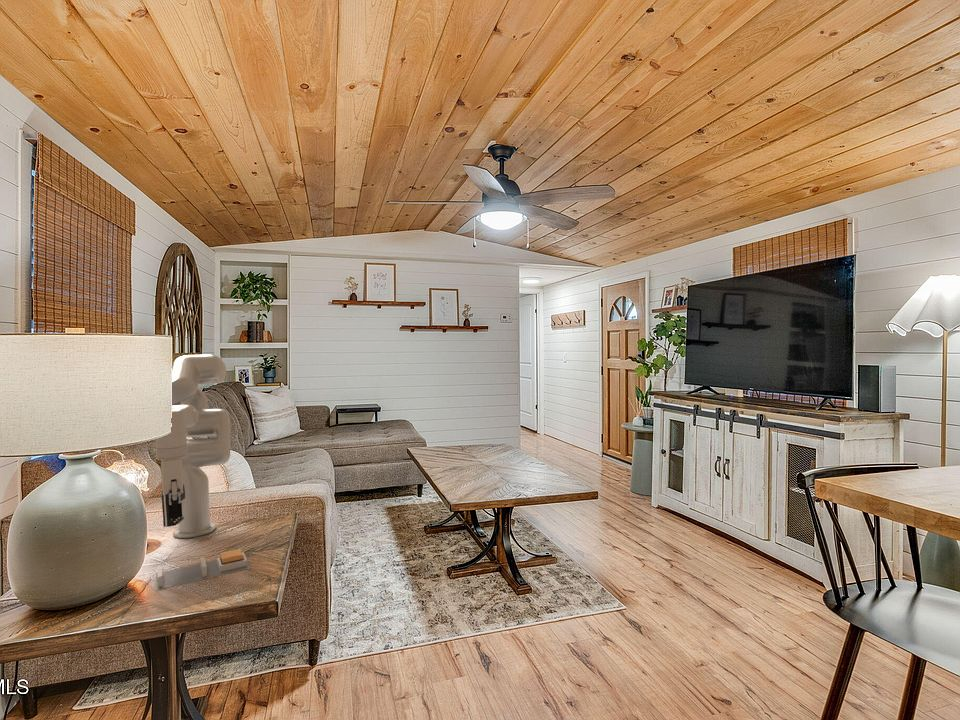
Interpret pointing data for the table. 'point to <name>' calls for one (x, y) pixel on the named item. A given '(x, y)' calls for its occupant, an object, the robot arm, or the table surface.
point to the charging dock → (198, 572)
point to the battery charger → (165, 503)
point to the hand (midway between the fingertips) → (175, 513)
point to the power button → (231, 555)
